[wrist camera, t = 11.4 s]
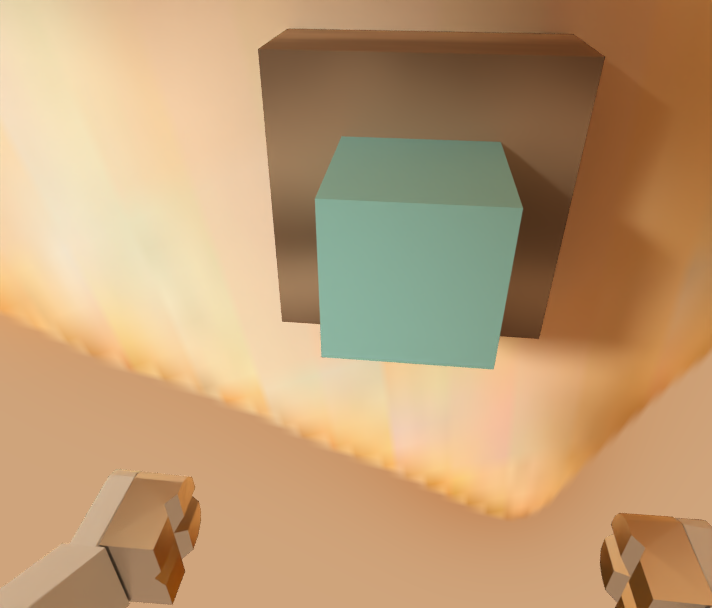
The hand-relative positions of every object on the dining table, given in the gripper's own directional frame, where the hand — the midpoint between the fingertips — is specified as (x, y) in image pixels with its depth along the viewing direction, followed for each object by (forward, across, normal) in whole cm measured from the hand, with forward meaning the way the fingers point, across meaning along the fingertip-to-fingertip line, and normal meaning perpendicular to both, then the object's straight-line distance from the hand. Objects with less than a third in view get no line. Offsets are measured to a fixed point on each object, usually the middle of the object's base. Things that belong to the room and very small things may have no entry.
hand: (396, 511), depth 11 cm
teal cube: (+14, 0, 0) cm, 14 cm away
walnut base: (+19, 0, 0) cm, 19 cm away
